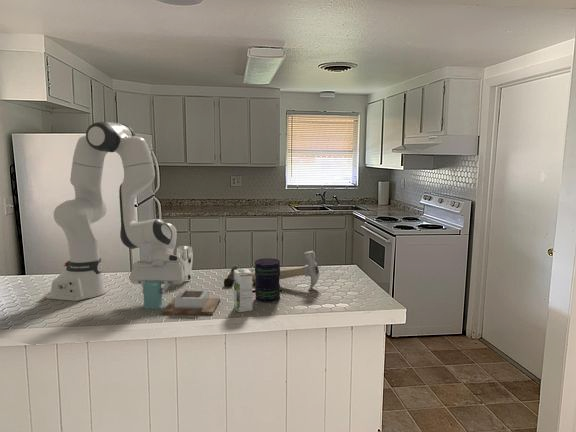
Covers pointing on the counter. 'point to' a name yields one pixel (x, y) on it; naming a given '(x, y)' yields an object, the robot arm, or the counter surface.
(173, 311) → the walnut board
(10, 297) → the counter surface
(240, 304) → the syrup box
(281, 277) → the hammer
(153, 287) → the teal peg
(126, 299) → the counter surface
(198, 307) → the socket
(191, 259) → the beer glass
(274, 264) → the storage jar
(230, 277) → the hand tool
